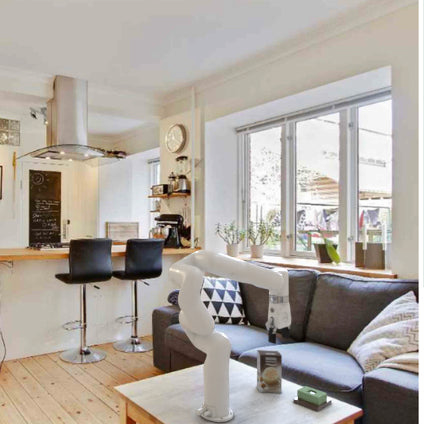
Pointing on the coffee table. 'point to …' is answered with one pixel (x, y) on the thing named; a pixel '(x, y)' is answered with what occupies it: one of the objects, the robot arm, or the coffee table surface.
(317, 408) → the wooden peg base
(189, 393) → the coffee table surface
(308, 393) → the green block with hole
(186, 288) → the robot arm
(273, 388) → the coffee box
